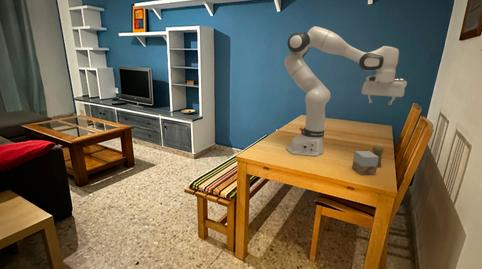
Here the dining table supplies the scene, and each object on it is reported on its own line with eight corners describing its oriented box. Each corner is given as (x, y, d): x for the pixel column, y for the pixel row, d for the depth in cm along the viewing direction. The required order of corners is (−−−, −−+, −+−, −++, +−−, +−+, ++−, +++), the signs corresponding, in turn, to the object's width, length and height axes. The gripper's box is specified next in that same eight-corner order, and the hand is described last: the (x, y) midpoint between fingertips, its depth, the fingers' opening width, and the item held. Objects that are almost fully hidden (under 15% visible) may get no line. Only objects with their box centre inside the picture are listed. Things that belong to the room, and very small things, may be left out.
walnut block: (361, 175, 125) (362, 166, 124) (351, 168, 133) (353, 160, 131) (375, 175, 127) (377, 166, 125) (365, 168, 134) (367, 159, 133)
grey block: (361, 166, 124) (363, 157, 123) (353, 159, 132) (355, 151, 130) (376, 166, 125) (378, 157, 123) (367, 159, 132) (369, 151, 131)
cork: (366, 162, 141) (370, 144, 138) (378, 163, 140) (382, 145, 137) (371, 167, 135) (375, 148, 132) (382, 167, 135) (387, 149, 131)
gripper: (407, 78, 131) (401, 104, 135) (364, 76, 139) (359, 101, 143) (408, 79, 125) (402, 106, 129) (363, 77, 134) (359, 102, 138)
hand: (379, 103), depth 136 cm, fingers open, 8 cm apart
